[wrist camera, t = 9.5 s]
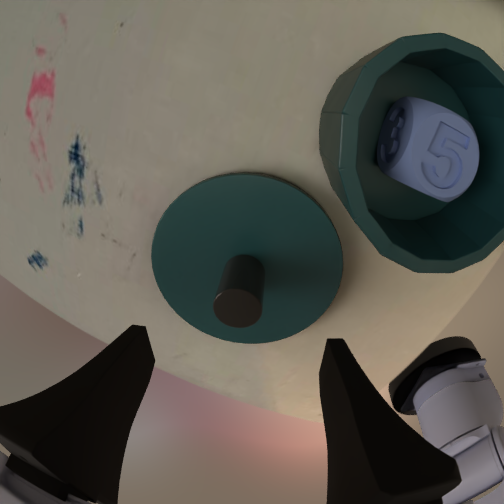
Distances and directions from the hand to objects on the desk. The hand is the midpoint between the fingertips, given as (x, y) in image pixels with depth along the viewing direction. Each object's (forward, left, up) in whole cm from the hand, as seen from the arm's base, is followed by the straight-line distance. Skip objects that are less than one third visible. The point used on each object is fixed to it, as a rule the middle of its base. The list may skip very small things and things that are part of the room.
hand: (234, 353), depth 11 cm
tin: (-9, -8, -8) cm, 14 cm away
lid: (0, 0, -7) cm, 7 cm away
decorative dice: (-9, -8, -8) cm, 14 cm away
